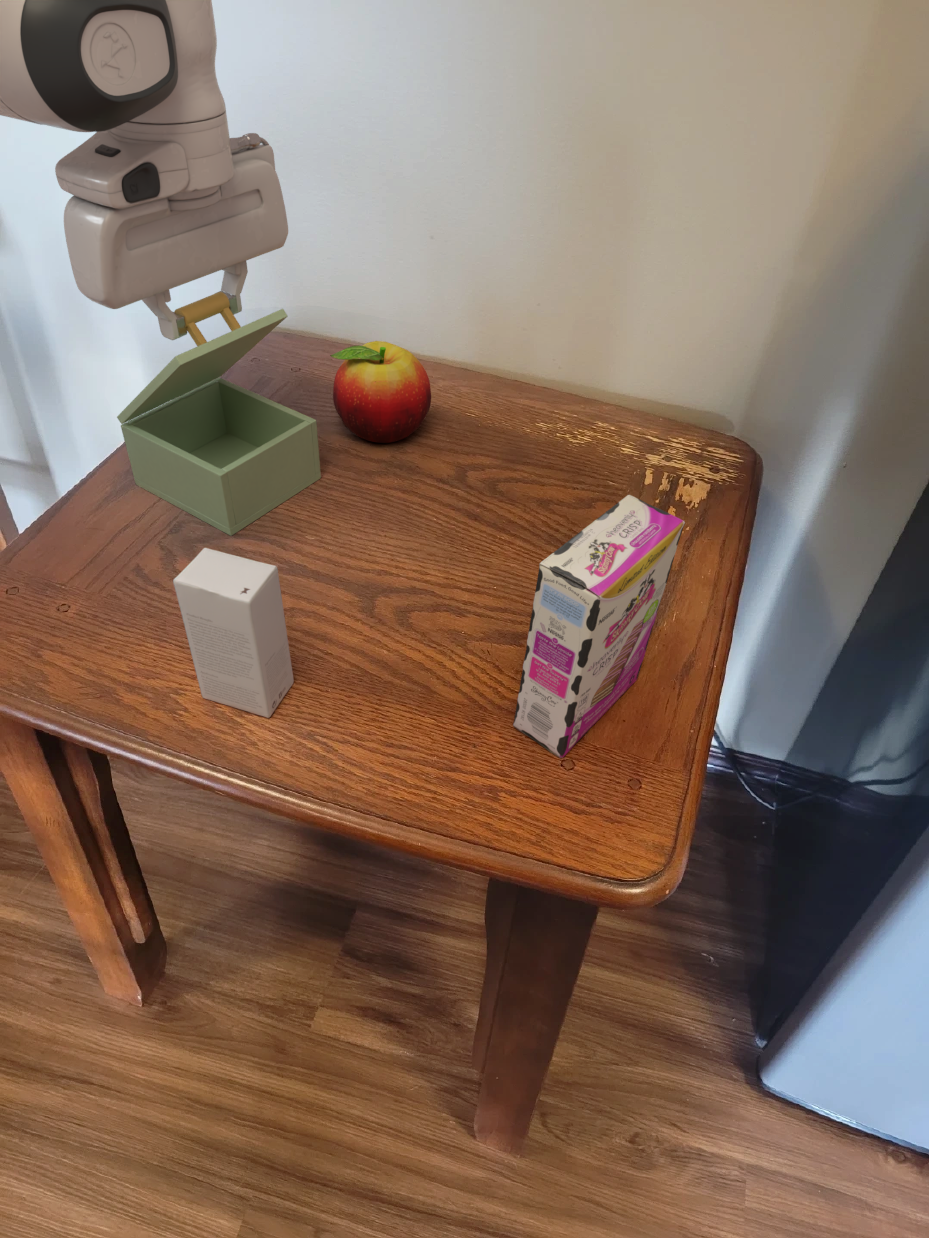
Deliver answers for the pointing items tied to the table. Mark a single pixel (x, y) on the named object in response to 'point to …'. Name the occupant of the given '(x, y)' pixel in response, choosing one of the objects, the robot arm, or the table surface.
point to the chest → (223, 453)
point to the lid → (202, 354)
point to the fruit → (381, 391)
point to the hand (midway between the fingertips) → (202, 324)
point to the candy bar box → (593, 621)
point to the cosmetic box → (236, 630)
